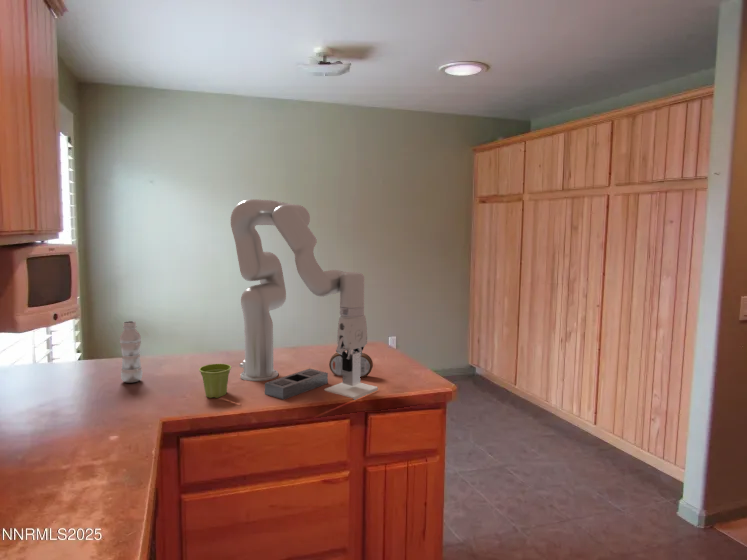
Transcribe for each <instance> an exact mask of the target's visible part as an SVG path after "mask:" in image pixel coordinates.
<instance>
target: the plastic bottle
mask: <svg viewBox="0 0 747 560" xmlns="http://www.w3.org/2000/svg"><path fill="white" fill-rule="evenodd" d="M122 326H123V331H122V332H121V333H120V336H119V344H120V349H121V357H122V359H121V370H120V379H121V380H122V382H124V383H127V384H128V383H130V384H131V383H137V382H140V381H141V380H142V378H143V369H142V365H141V344H142V343H141V342H142V336H141V334H140V332H139V331H138V330H137V323H136V321H134V320H128V321H123V325H122Z"/></svg>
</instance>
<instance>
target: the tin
mask: <svg viewBox="0 0 747 560" xmlns="http://www.w3.org/2000/svg"><path fill="white" fill-rule="evenodd" d="M328 363H329V364H328V365H329V370H330V371H331V373H332V374H333V375H335V376H341V377H343V370H342V358H341V356H340V354H339V353H337V352H335V353H333V355H332V356H331V357H330V359H329V362H328ZM373 367H374V363H373V359H372V357H371V356H370V355H368V354H367V353H366V352H365V353H364V352H362V355H361V374H360V377H362V378H365V377H367V376H369V374H370V373H371V372H372V370H373Z"/></svg>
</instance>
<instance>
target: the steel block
mask: <svg viewBox="0 0 747 560" xmlns="http://www.w3.org/2000/svg"><path fill="white" fill-rule="evenodd" d="M345 352H346V353H347V351H345ZM350 359H351V371H350V372H348V371H344V370H343V376H342V382H343V384H347V385H351V386H354V385H356V384H359V383H361V378H360V374H361V352H358V351H353V350H351V354H350Z"/></svg>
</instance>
